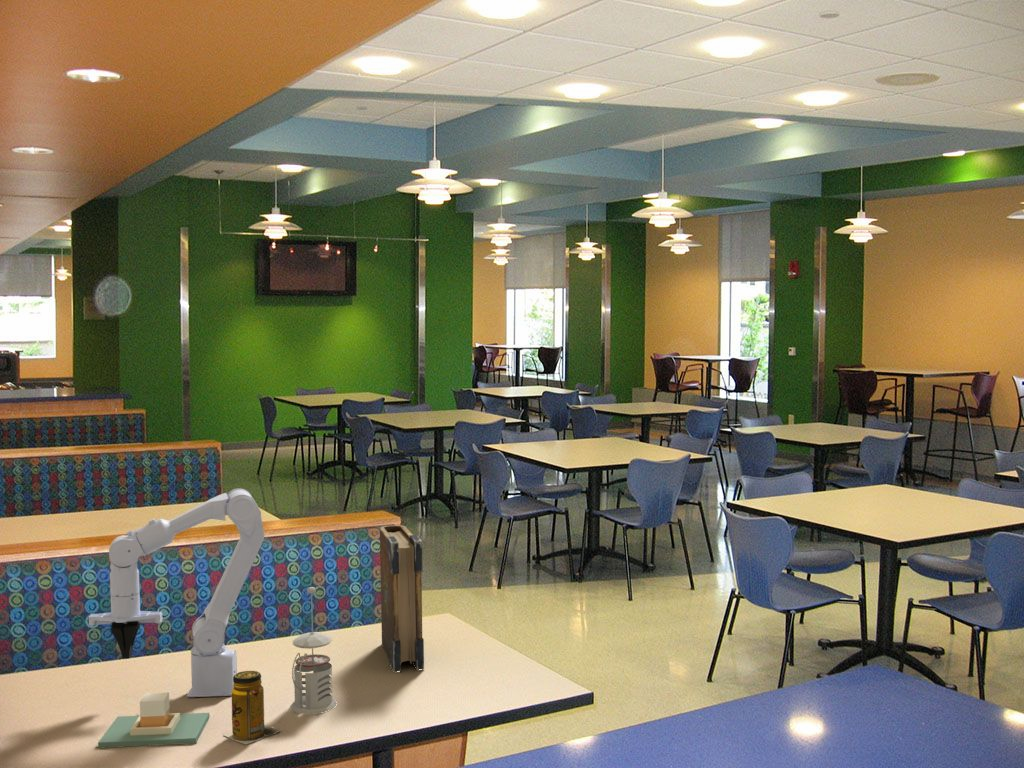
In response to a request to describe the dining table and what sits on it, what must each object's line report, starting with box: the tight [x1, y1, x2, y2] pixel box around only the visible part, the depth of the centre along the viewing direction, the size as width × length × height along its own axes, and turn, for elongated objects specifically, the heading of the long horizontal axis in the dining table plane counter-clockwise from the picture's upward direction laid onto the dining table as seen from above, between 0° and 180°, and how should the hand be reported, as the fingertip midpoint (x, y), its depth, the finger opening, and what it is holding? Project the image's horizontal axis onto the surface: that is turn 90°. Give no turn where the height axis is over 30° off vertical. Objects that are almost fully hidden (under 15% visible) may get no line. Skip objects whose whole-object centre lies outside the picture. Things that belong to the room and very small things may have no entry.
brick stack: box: [139, 691, 171, 727], centre depth 201 cm, size 4×4×6 cm
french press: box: [289, 586, 338, 715], centre depth 213 cm, size 10×12×25 cm
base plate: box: [97, 712, 211, 749], centre depth 201 cm, size 18×13×2 cm
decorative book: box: [379, 524, 425, 672], centre depth 245 cm, size 23×7×30 cm, turn 15°
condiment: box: [223, 670, 283, 745], centre depth 199 cm, size 7×8×12 cm
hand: (126, 657), depth 217 cm, fingers closed
